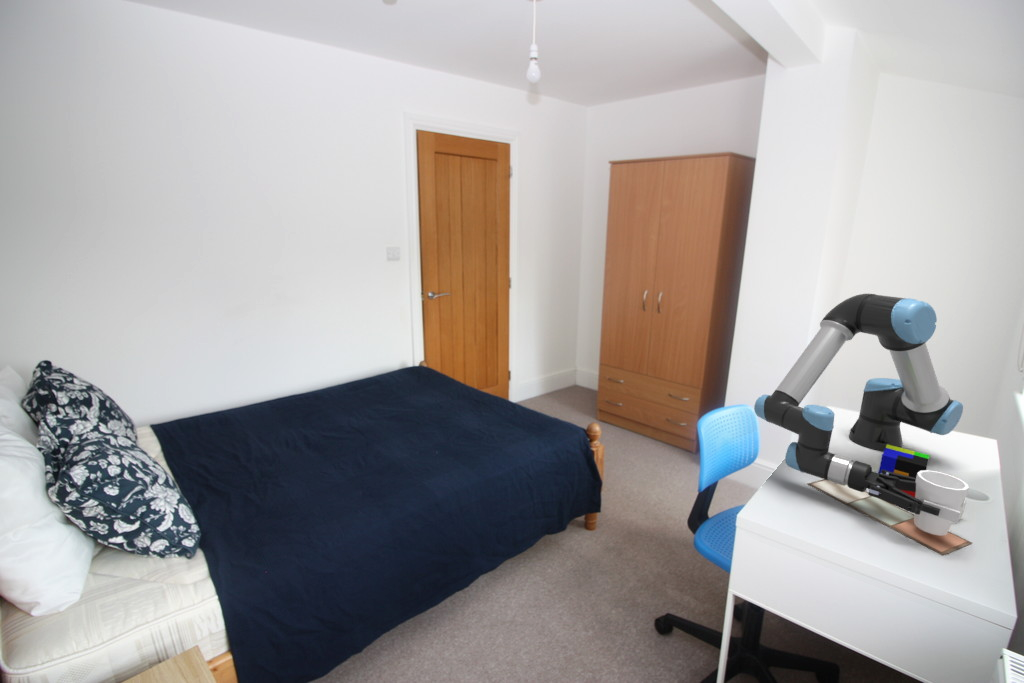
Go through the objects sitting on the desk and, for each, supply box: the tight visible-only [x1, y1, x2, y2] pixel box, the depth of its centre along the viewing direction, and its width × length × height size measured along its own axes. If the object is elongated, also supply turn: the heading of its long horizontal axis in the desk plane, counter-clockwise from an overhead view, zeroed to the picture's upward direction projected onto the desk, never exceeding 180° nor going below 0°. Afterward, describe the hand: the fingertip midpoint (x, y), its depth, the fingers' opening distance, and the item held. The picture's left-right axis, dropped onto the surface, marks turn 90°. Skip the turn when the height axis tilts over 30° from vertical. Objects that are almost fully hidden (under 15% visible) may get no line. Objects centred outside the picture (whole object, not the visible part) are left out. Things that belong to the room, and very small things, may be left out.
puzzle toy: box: [877, 444, 930, 497], centre depth 143 cm, size 10×10×10 cm
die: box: [959, 500, 967, 520], centre depth 129 cm, size 5×5×6 cm
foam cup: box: [913, 469, 970, 536], centre depth 119 cm, size 10×9×13 cm
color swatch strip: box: [807, 478, 973, 556], centre depth 131 cm, size 12×34×1 cm, turn 23°
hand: (961, 509), depth 116 cm, fingers closed on foam cup, 9 cm apart
